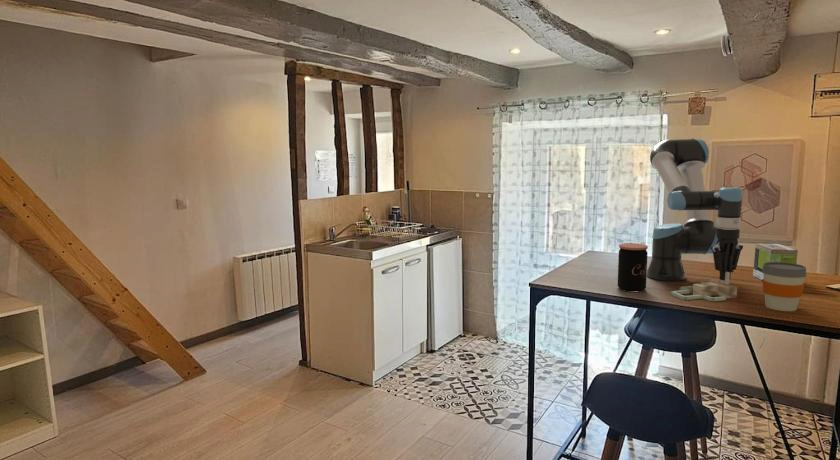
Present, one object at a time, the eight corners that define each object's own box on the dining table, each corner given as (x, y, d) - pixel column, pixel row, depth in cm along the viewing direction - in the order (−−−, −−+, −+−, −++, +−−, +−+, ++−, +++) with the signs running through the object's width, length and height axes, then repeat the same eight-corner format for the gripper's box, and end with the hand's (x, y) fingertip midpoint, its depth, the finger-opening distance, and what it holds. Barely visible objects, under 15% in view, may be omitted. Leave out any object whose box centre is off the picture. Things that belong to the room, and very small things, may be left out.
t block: (709, 288, 204) (710, 279, 203) (736, 297, 191) (737, 287, 191) (684, 291, 201) (684, 281, 201) (709, 300, 189) (710, 289, 188)
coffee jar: (633, 294, 199) (635, 248, 196) (611, 288, 208) (613, 244, 206) (651, 290, 204) (653, 246, 201) (629, 284, 213) (631, 242, 210)
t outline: (692, 288, 205) (692, 285, 204) (725, 300, 188) (726, 297, 188) (661, 291, 202) (661, 288, 201) (693, 303, 185) (693, 300, 185)
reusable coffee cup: (764, 311, 175) (768, 268, 173) (755, 301, 186) (758, 261, 184) (808, 314, 170) (812, 270, 168) (796, 303, 182) (800, 262, 180)
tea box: (795, 285, 207) (798, 249, 204) (768, 284, 209) (770, 249, 206) (777, 276, 221) (780, 243, 219) (752, 275, 223) (754, 242, 221)
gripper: (721, 230, 189) (717, 292, 193) (750, 228, 192) (746, 289, 196) (706, 227, 196) (702, 287, 200) (734, 225, 199) (730, 284, 203)
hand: (724, 288), depth 198 cm, fingers closed
